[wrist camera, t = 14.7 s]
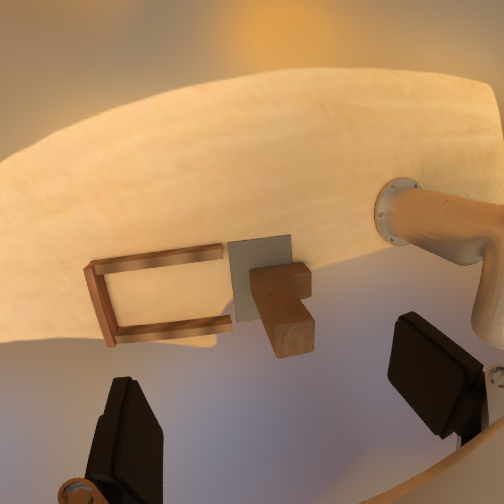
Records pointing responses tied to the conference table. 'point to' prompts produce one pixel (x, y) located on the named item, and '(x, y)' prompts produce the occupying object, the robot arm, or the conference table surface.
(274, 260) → the mat
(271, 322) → the wooden block
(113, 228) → the conference table surface
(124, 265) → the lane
